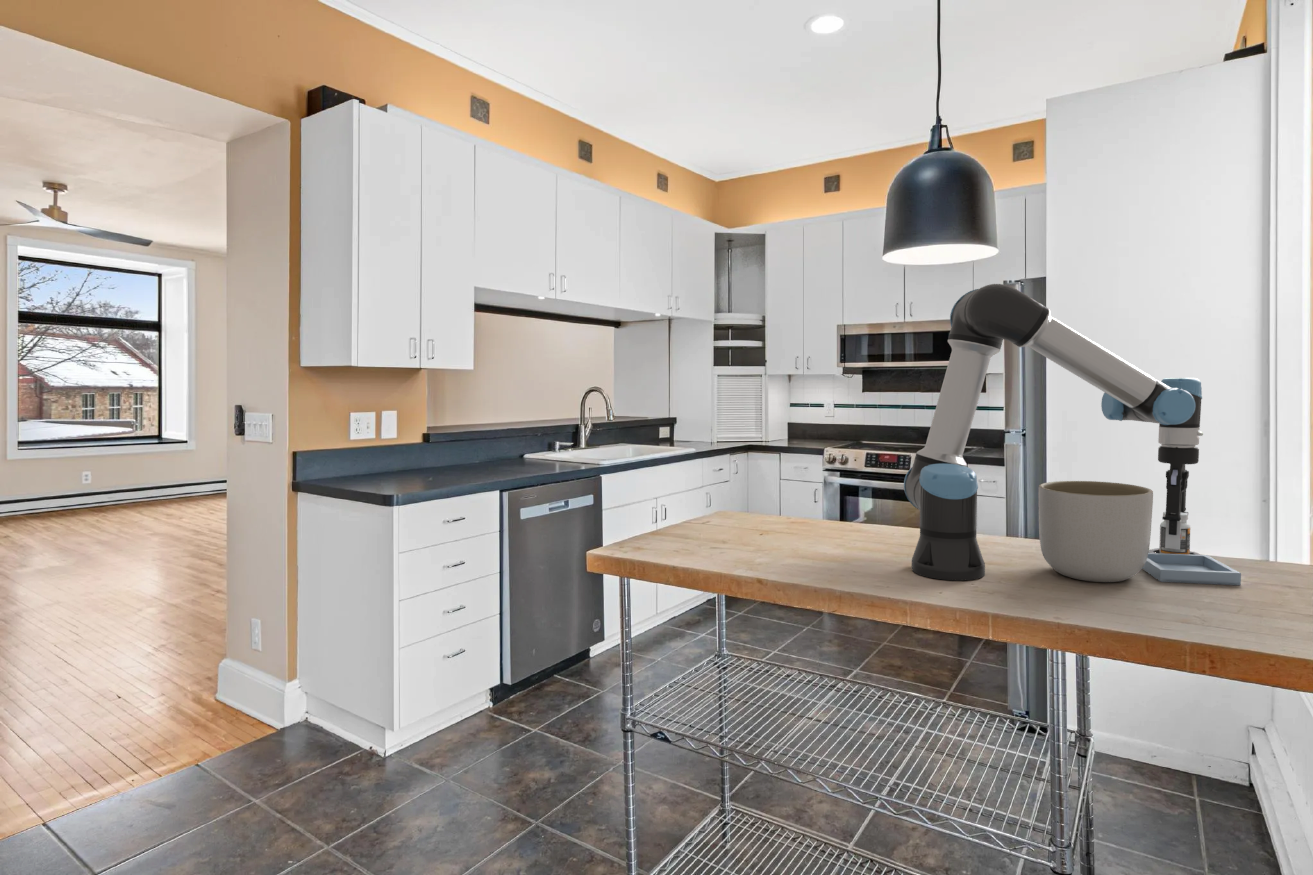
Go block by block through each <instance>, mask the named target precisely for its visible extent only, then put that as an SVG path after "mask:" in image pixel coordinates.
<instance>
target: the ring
mask: <svg viewBox="0 0 1313 875" xmlns="http://www.w3.org/2000/svg"><path fill="white" fill-rule="evenodd" d="M1155 552H1156V553H1160V552H1159V547H1158V548H1151V549H1149V552H1148V553H1155ZM1190 554H1191V555H1201V554H1200V553H1198V552H1195V551H1190Z"/></svg>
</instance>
